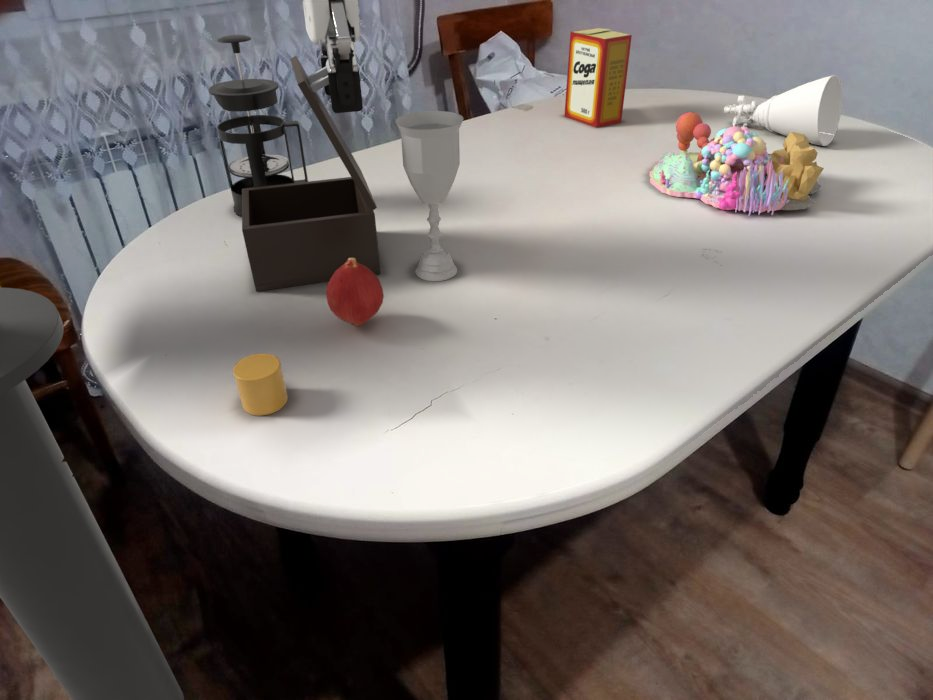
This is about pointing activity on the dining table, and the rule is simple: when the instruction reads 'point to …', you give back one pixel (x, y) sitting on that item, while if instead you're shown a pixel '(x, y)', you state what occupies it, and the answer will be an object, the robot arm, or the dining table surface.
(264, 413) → the pod
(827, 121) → the rocket engine
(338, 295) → the red fruit
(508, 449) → the dining table surface
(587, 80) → the baking soda box
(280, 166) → the french press
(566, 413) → the dining table surface
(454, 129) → the chalice
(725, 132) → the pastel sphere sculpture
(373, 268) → the dark brown wooden crate
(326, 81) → the wooden box lid
